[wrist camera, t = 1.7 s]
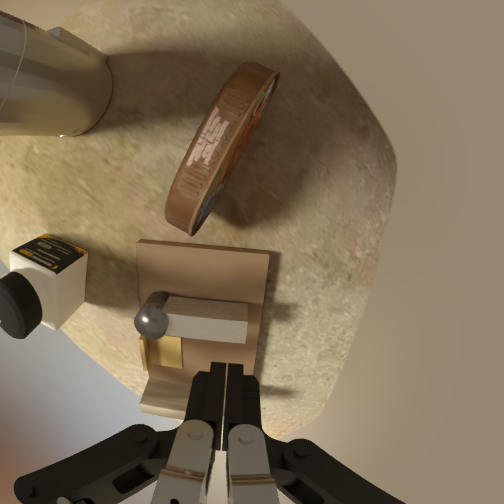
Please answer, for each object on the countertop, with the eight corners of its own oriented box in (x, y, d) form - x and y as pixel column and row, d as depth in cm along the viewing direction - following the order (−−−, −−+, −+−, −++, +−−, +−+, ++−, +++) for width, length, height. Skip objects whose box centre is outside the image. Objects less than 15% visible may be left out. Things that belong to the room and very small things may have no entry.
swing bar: (147, 316, 28) (136, 336, 24) (145, 289, 27) (132, 308, 23) (245, 327, 29) (245, 350, 25) (247, 300, 28) (248, 322, 24)
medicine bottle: (89, 250, 28) (24, 297, 16) (85, 302, 30) (33, 359, 18) (45, 232, 27) (-23, 267, 15) (43, 282, 29) (-13, 328, 17)
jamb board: (140, 239, 27) (116, 258, 22) (268, 250, 28) (274, 274, 22) (153, 380, 33) (141, 412, 28) (249, 392, 34) (249, 426, 28)
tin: (204, 225, 27) (187, 253, 19) (176, 211, 27) (148, 233, 19) (278, 90, 23) (291, 60, 15) (248, 75, 22) (249, 41, 14)
